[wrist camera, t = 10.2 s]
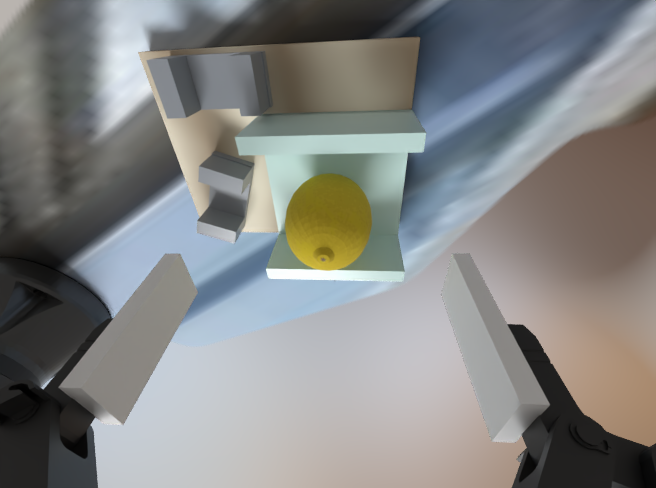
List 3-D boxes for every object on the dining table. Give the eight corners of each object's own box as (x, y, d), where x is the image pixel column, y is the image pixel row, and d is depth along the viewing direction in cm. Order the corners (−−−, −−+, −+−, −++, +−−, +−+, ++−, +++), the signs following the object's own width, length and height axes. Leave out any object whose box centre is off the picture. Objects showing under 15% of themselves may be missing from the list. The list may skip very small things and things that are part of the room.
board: (210, 224, 27) (204, 231, 26) (149, 50, 19) (137, 52, 18) (395, 225, 25) (396, 233, 24) (416, 36, 17) (420, 37, 16)
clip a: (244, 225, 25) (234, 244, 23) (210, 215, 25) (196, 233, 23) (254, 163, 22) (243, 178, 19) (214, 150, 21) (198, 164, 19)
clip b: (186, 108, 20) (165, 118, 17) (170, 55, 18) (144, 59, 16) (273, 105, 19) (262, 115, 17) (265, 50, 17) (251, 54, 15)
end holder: (282, 239, 26) (268, 278, 22) (259, 113, 19) (234, 137, 15) (395, 240, 25) (403, 281, 21) (411, 109, 18) (426, 132, 14)
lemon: (384, 183, 21) (397, 252, 15) (341, 233, 24) (336, 307, 18) (321, 139, 19) (304, 195, 13) (283, 198, 22) (255, 267, 16)
